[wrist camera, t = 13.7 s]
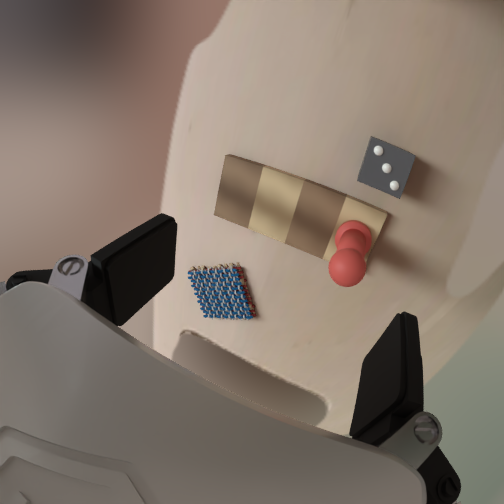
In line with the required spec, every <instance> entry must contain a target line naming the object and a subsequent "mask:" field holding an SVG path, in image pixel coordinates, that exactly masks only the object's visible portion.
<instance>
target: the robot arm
mask: <svg viewBox="0 0 504 504" xmlns="http://www.w3.org/2000/svg"><path fill="white" fill-rule="evenodd" d="M176 237H177V223H176V222H175V219H174V218H173V217H171V216H168V215H166V214H163V213H161V214H159V215H157V216H156V217H154V218H152V219H150V220H149V221H147V222H145V223H143V224H142V225H140V226H138V227H136V228H135V229H133V230H131V231H129V232H128V233H126V234H124V235H123V236H121V237H119V238H118V239H116V240H115V241H113V242H111V243H110V244H108V245H106V246H105V247H103V248H102V249H100V250H99V251H97V252H95V253H94V254H92V255H91V261H90V262H87V259H86V258H84V257H83V256H80V255H68V256H65V257H63V258H61V259H60V260H59V261H57V262H56V264H55V266H54V268H53V269H50V270H49V269H48V270H31V271H20V272H16V273H15V274H14V275H12V276H11V277H10V278H9V279H8V281H7V283H6V284H5V281H4V282H0V504H461V503H460V502H458V503H457V501H456V500H457V498H458V496H459V493H460V490H461V483H460V479H459V477H458V475H457V473H456V472H455V470H454V469H453V467H452V466H451V464H450V463H449V461H448V460H447V458H446V457H445V455H444V454H443V452H442V451H441V449H440V448H439V447H438V445H439V443H440V441H441V438H442V427H441V424H440V422H439V420H438V419H437V418H436V417H435V416H434V415H433V414H431V413H429V412H424V411H423V404H424V402H423V401H424V400H423V399H424V398H423V365H422V356H421V351H420V339H419V329H418V320H417V317H416V316H414V315H412V314H409V313H407V312H402V313H401V314H399V313H398V314H396V316H395V317H394V319H393V320H392V321H391V323H390V324H389V326H388V327H387V329H386V330H385V331H384V333H383V334H382V336H381V337H380V338H379V340H378V341H377V342H376V344H375V345H374V346H373V348H372V349H371V350H370V352H369V353H368V354H367V355H366V357H365V359H364V361H363V363H362V369H361V376H360V382H359V388H358V393H357V399H356V404H355V409H354V414H353V419H352V423H351V428H350V433H349V434H350V436H352V438H348V437H345V436H342V435H339V434H336V433H333V432H330V431H327V430H324V429H321V428H318V427H315V426H313V425H310V424H307V423H304V422H301V421H298V420H296V419H293V418H291V417H288V416H286V415H283V414H281V413H278V412H275V411H273V410H271V409H268V408H266V407H264V406H261V405H259V404H257V403H254V402H252V401H250V400H248V399H246V398H243V397H241V396H239V395H237V394H235V393H232V392H230V391H228V390H226V389H224V388H222V387H220V386H218V385H216V384H214V383H212V382H210V381H208V380H206V379H204V378H203V377H201V376H199V375H197V374H195V373H193V372H191V371H189V370H188V369H186V368H184V367H182V366H180V365H179V364H177V363H175V362H173V361H172V360H170V359H168V358H167V357H165V356H163V355H161V354H160V353H158V352H156V351H155V350H153V349H151V348H150V347H148V346H146V345H145V344H143V343H142V342H140V341H139V340H137V339H136V338H134V337H132V336H131V335H129V334H128V333H126V332H125V331H123V330H122V329H120V328H119V327H117V326H122V325H123V324H124V323H126V322H127V321H128V320H129V319H130V318H131V317H132V316H133V315H134V314H135V313H136V312H137V311H138V310H139V309H140V308H142V307H143V306H144V305H145V304H146V303H147V302H148V301H149V300H150V299H152V298H153V297H154V296H155V295H156V294H157V293H158V292H159V291H160V290H162V289H163V288H164V287H165V286H166V285H167V284H168V283H169V282H170V281H171V280H172V279H173V277H174V270H175V252H176Z"/></svg>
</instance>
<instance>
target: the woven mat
mask: <svg viewBox="0 0 504 504" xmlns="http://www.w3.org/2000/svg"><path fill="white" fill-rule="evenodd" d="M224 265H225V268H223V267H222V266H221V265H220V264H219V265H218V266H217V267H218V268H217V267H216V266H213V267H214V269H213V268H212V267H208V269H207V268H205V266H202V267H201V268H200V266H198V269H199V270H196V269H195V268H194V267H193V266H192V267H191V271H189V272H188V274H191V277H188V279H192V280H191V282H193V285H191V286H192V287H195V288H194V290H196V291H197V293H194V294H195V295H198V296H197V298H199V299H200V300H198V301H197V302H198V303H200V305H202V308H200V309H201V310H203V313H206V315H203V316H204V317H205V318H206V317H209V318H212V319H213V317H214V318H216V317H217V318H219V319H220V318H222V319H224V318H225V319H227V318H230V319H233V320H234V318H235V319H236V320H237V318H239V319H241V320H242V318H243V319H245V320H246V318H247V320H249V319H251V318H253V317H252V316H256V314H255V310H254V307H255V306H254V305H253V304H252V301H251V300H252V299H251V297H250V295H249V292H248V289H247V285H246V279H244V276H243V271H242V270H241V266H240V264H239V262H238V263H237V266H235V265H233V263H230V264H229V267H228V265H227V263H226V264H224ZM237 270H238V271H237ZM239 275H240V276H239ZM243 288H244V289H243ZM246 296H247V297H246ZM247 300H248V301H247ZM251 312H252V314H251ZM207 314H208V315H207ZM223 317H224V318H223Z"/></svg>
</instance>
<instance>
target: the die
mask: <svg viewBox="0 0 504 504" xmlns="http://www.w3.org/2000/svg"><path fill="white" fill-rule="evenodd" d="M414 159H415V155H413V154H411V153H409V152H407V151H405V150H403V149H400V148H398V147H396V146H394V145H391V144H389V143H386V142H384V141H382V140H379V139H377V138H374V137H370V141H369V144H368V147H367V150H366V153H365V156H364V159H363V163H362V166H361V169H360V171H359V175H358V180H357V181H359V182H361V183H364V184H366V185H369V186H371V187H374V188H376V189H378V190H381V191H383V192H385V193H388V194H390V195H392V196H394V197H397V198H399V199H400V197H401V195H402V192H403V190H404V187H405V184H406V182H407V179H408V176H409V174H410V171H411V168H412V165H413V162H414Z"/></svg>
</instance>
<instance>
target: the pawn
mask: <svg viewBox="0 0 504 504" xmlns="http://www.w3.org/2000/svg"><path fill="white" fill-rule="evenodd" d="M371 242H372V236H371V232H370V230H369V228H368V227H367V226H366V225H365V224H364V223H363V222H361V221H358V220H349V221H346V222H344V223H343V224H341V225H340V227H339V228H338V230H337V233H336V235H335V245H336V247H337V250H336V253H335V254H334V255H333V256H332V257H331V259H330V262H329V273H330V276H331V278H332V279H333V281H334V282H335V283H337V284H338V285H340V286H344V287H351V286H354V285H356V284H358V283H359V282H360V281H361V280H362V279H363V277H364V275H365V272H366V262H365V259H364V257H365V254H366V253H367V252H368V251H369V249H370V247H371Z"/></svg>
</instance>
